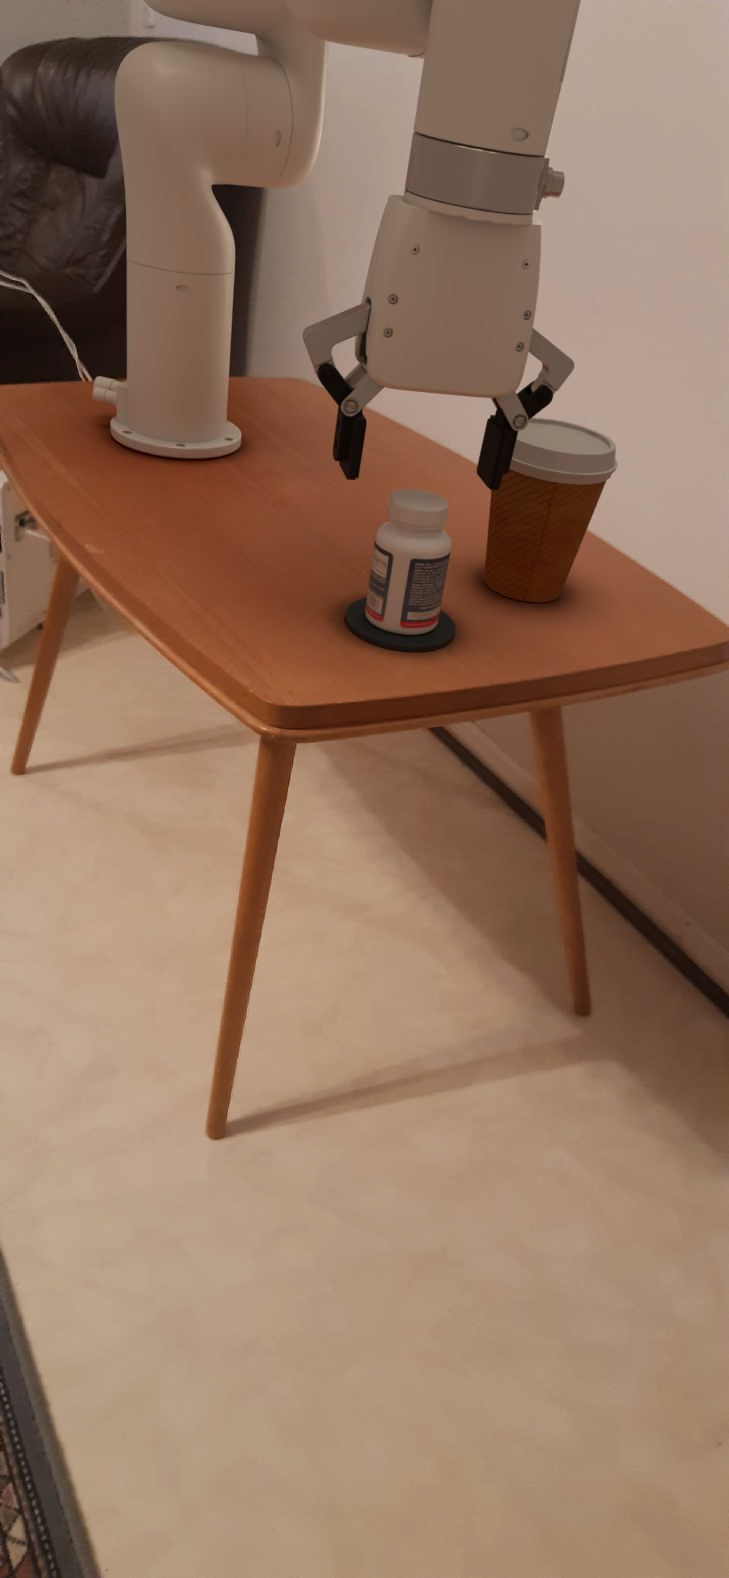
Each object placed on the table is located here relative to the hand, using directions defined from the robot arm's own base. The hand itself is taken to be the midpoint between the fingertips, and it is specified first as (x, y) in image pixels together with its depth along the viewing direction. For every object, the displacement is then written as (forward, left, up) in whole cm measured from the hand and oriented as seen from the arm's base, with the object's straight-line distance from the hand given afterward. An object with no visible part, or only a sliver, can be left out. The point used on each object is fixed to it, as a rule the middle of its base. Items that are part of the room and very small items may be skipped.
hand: (418, 477), depth 68 cm
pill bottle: (0, 0, -10) cm, 10 cm away
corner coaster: (0, 0, -11) cm, 11 cm away
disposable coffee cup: (+7, +12, -11) cm, 18 cm away
